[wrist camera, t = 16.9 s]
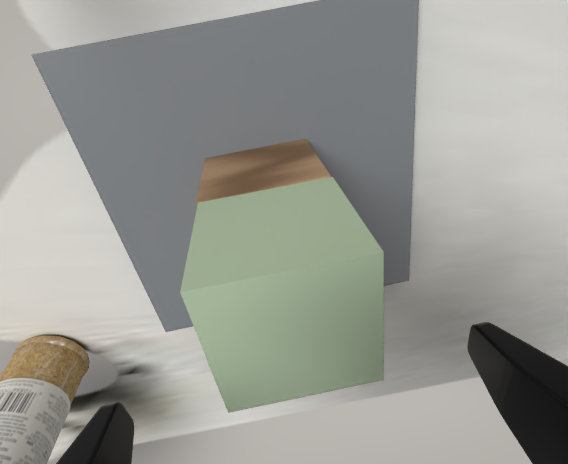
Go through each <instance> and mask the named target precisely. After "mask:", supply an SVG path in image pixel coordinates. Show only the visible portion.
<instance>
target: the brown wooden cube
mask: <svg viewBox="0 0 568 464" xmlns="http://www.w3.org/2000/svg"><path fill="white" fill-rule="evenodd" d="M329 177H330V174H329V173H328V171H327V170H326V168H325V167H324V165H323V164H322V162H321V161H320V159H319V158H318V156H317V155H316V153H315V152H314V150H313V149H312V147H311V146H310V144H309V143H308V141H307V140H306V139H300V140H295V141H290V142H285V143H280V144H275V145H270V146H265V147H259V148H254V149H249V150H244V151H239V152H234V153H229V154H224V155H219V156H213V157H208V158H205V160H204V165H203V170H202V174H201V179H200V184H199V188H198V193H197V198H196V205H198V203H199V202H204V201H209V200H214V199H220V198H225V197H230V196H235V195H241V194H246V193H251V192H256V191H261V190H267V189H272V188H277V187H282V186H288V185H293V184H298V183H303V182H309V181H314V180H319V179H324V178H329Z"/></svg>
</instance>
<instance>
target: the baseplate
mask: <svg viewBox="0 0 568 464" xmlns="http://www.w3.org/2000/svg"><path fill="white" fill-rule="evenodd" d="M418 6H419V0H319V1H314V2H309V3H303V4H298V5H293V6H287V7H282V8H277V9H271V10H266V11H261V12H256V13H250V14H245V15H240V16H234V17H229V18H224V19H218V20H213V21H208V22H203V23H197V24H192V25H187V26H181V27H176V28H171V29H165V30H160V31H155V32H150V33H144V34H139V35H134V36H128V37H123V38H118V39H112V40H107V41H102V42H97V43H91V44H86V45H81V46H75V47H70V48H65V49H59V50H54V51H49V52H44V53H38V54H33V55H32V57H33V59H34V61H35V63H36V65H37V67H38V69H39V72H40V74H41V76H42V77H43V80H44V82H45V84H46V86H47V88H48V90H49V92H50V94H51V96H52V98H53V100H54V102H55V104H56V107H57V109H58V110H59V112H60V115H61V117H62V119H63V121H64V123H65V125H66V127H67V129H68V131H69V133H70V135H71V137H72V140H73V142H74V144H75V146H76V148H77V150H78V152H79V154H80V156H81V158H82V160H83V162H84V164H85V166H86V168H87V170H88V172H89V175H90V177H91V179H92V181H93V183H94V185H95V187H96V189H97V191H98V193H99V195H100V197H101V199H102V201H103V203H104V205H105V208H106V210H107V212H108V214H109V216H110V218H111V220H112V222H113V224H114V226H115V228H116V230H117V232H118V234H119V236H120V238H121V241H122V243H123V245H124V247H125V249H126V251H127V253H128V255H129V257H130V259H131V261H132V263H133V265H134V267H135V269H136V271H137V273H138V276H139V278H140V280H141V282H142V284H143V286H144V288H145V290H146V292H147V294H148V296H149V298H150V300H151V302H152V304H153V306H154V309H155V311H156V313H157V315H158V317H159V319H160V321H161V323H162V325H163V327H164V329H165V331H166V332H168V331H173V330H178V329H182V328H187V327H192V326H193V323H192V321H191V318H190V316H189V313H188V311H187V308H186V306H185V303H184V301H183V298H182V296H181V293H180V290H181V285H182V280H183V275H184V270H185V265H186V260H187V255H188V250H189V245H190V240H191V235H192V230H193V225H194V220H195V215H196V210H197V205H196V198H197V193H198V188H199V184H200V179H201V174H202V170H203V165H204V160H205V158H208V157H213V156H219V155H224V154H229V153H234V152H239V151H244V150H249V149H254V148H259V147H265V146H270V145H275V144H280V143H285V142H290V141H295V140H300V139H306V140H307V141H308V143H309V144H310V146H311V147H312V149H313V150H314V152H315V153H316V155H317V156H318V158H319V159H320V161H321V162H322V164H323V165H324V167H325V168H326V170H327V171H328V173H329V174H330V177H333V178H334V179H335V181H336V182H337V184H338V185H339V187H340V188H341V190H342V191H343V193H344V194H345V196H346V197H347V199H348V200H349V202H350V203H351V205H352V206H353V207H354V209H355V210H356V212H357V213H358V215H359V216H360V218H361V219H362V221H363V222H364V224H365V225H366V227H367V228H368V230H369V231H370V233H371V234H372V236H373V237H374V238H375V240H376V241H377V243H378V244H379V246H380V247H381V249H382V250H383V252H384V286H385V285H390V284H394V283H399V282H404V281H408V280H409V264H410V235H411V206H412V178H413V149H414V120H415V92H416V63H417V35H418Z"/></svg>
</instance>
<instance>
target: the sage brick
mask: <svg viewBox="0 0 568 464" xmlns="http://www.w3.org/2000/svg"><path fill="white" fill-rule="evenodd" d="M180 293H181V296H182V298H183V301H184V303H185V306H186V308H187V311H188V313H189V316H190V318H191V321H192V323H193V326H194V328H195V331H196V333H197V336H198V338H199V341H200V343H201V346H202V348H203V351H204V353H205V356H206V358H207V361H208V363H209V366H210V368H211V371H212V373H213V376H214V378H215V381H216V383H217V386H218V388H219V391H220V393H221V396H222V398H223V401H224V403H225V405H226V408H227V410H228V413H229V412H234V411H239V410H244V409H248V408H253V407H258V406H262V405H267V404H272V403H276V402H281V401H286V400H291V399H295V398H300V397H305V396H309V395H314V394H319V393H324V392H328V391H333V390H338V389H342V388H347V387H352V386H357V385H361V384H366V383H371V382H375V381H380V380H383V317H384V252H383V250H382V249H381V247H380V246H379V244H378V243H377V241H376V240H375V238H374V237H373V236H372V234H371V233H370V231H369V230H368V228H367V227H366V225H365V224H364V222H363V221H362V219H361V218H360V216H359V215H358V213H357V212H356V210H355V209H354V207H353V206H352V205H351V203H350V202H349V200H348V199H347V197H346V196H345V194H344V193H343V191H342V190H341V188H340V187H339V185H338V184H337V182H336V181H335V179H334V178H333V177H329V178H324V179H319V180H314V181H309V182H303V183H298V184H293V185H288V186H282V187H277V188H272V189H267V190H261V191H256V192H251V193H246V194H241V195H235V196H230V197H225V198H220V199H214V200H209V201H204V202H199V203H198V205H197V210H196V215H195V220H194V225H193V230H192V235H191V240H190V245H189V250H188V255H187V260H186V265H185V270H184V275H183V280H182V285H181V290H180Z"/></svg>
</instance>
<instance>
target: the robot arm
mask: <svg viewBox="0 0 568 464" xmlns="http://www.w3.org/2000/svg"><path fill="white" fill-rule="evenodd" d="M468 352H469V355H470V357H471V359H472V361H473V363H474V365H475V367H476V369H477V370H478V372H479V374H480V376H481V378H482V380H483V382H484V384H485V386H486V387H487V389H488V392H489V393H490V395H491V397H492V399H493V401H494V403H495V405H496V407H497V408H498V410H499V412H500V414H501V415H502V417H503V419H504V420H505V422H506V423H507V425H508V426H509V428H510V430H511V431H512V433H513V434H514V436H515V437H516V439H517V440H518V442H519V444H520V445H521V447H522V448H523V449H524V451H525V453H526V454H527V456H528V457H529V459H530V460H531V462H532V463H533V464H568V366H567V365H565V364H563V363H561V362H560V361H558V360H556V359H554V358H552V357H551V356H549V355H547V354H545V353H543V352H542V351H540V350H538V349H536V348H535V347H533V346H531V345H529V344H527V343H526V342H524V341H522V340H520V339H518V338H517V337H515V336H513V335H511V334H509V333H508V332H506V331H504V330H502V329H501V328H499V327H497V326H495V325H493V324H491V323H489V322H484V323H479V324H474V325H472V327H471V329H470V334H469V340H468ZM133 438H134V422H133V419H132V418H131V416H130V415H129V413H128V412H127V410H126V409H125V407H124V406H123V405H122V403H120V402H115V403H111V404H106V405H104V406H102V407H101V408H100V409H99V410H98V411H97V412H96V414H95V415H94V416H93V418H92V419H91V420H90V421H89V423H88V424H87V425H86V426H85V428H84V429H83V430H82V432H81V433H80V434H79V435H78V437H77V438H76V439H75V440H74V442H73V443H72V444H71V446H70V447H69V448H68V449H67V451H66V452H65V453H64V454H63V456H62V457H61V458H60V460H59V461H58V462H57V463H56V464H131V461H132V450H133Z"/></svg>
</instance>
